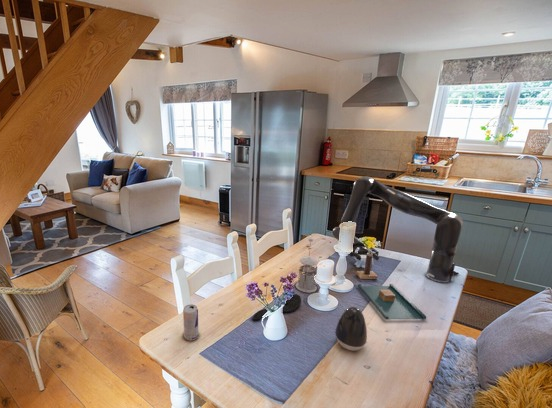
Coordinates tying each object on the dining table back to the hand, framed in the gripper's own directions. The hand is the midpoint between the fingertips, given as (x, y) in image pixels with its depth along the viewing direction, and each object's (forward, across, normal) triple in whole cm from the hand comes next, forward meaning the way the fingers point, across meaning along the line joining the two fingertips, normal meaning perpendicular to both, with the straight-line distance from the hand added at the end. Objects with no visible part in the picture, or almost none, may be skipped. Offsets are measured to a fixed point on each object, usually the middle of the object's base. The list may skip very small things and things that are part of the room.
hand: (369, 258), depth 150 cm
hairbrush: (+25, -50, +11) cm, 57 cm away
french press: (+8, -32, +11) cm, 35 cm away
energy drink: (+40, -85, +11) cm, 94 cm away
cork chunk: (+18, 0, +10) cm, 21 cm away
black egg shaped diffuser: (+45, -28, +11) cm, 54 cm away
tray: (+20, 0, +11) cm, 23 cm away
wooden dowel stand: (0, 0, +11) cm, 11 cm away
